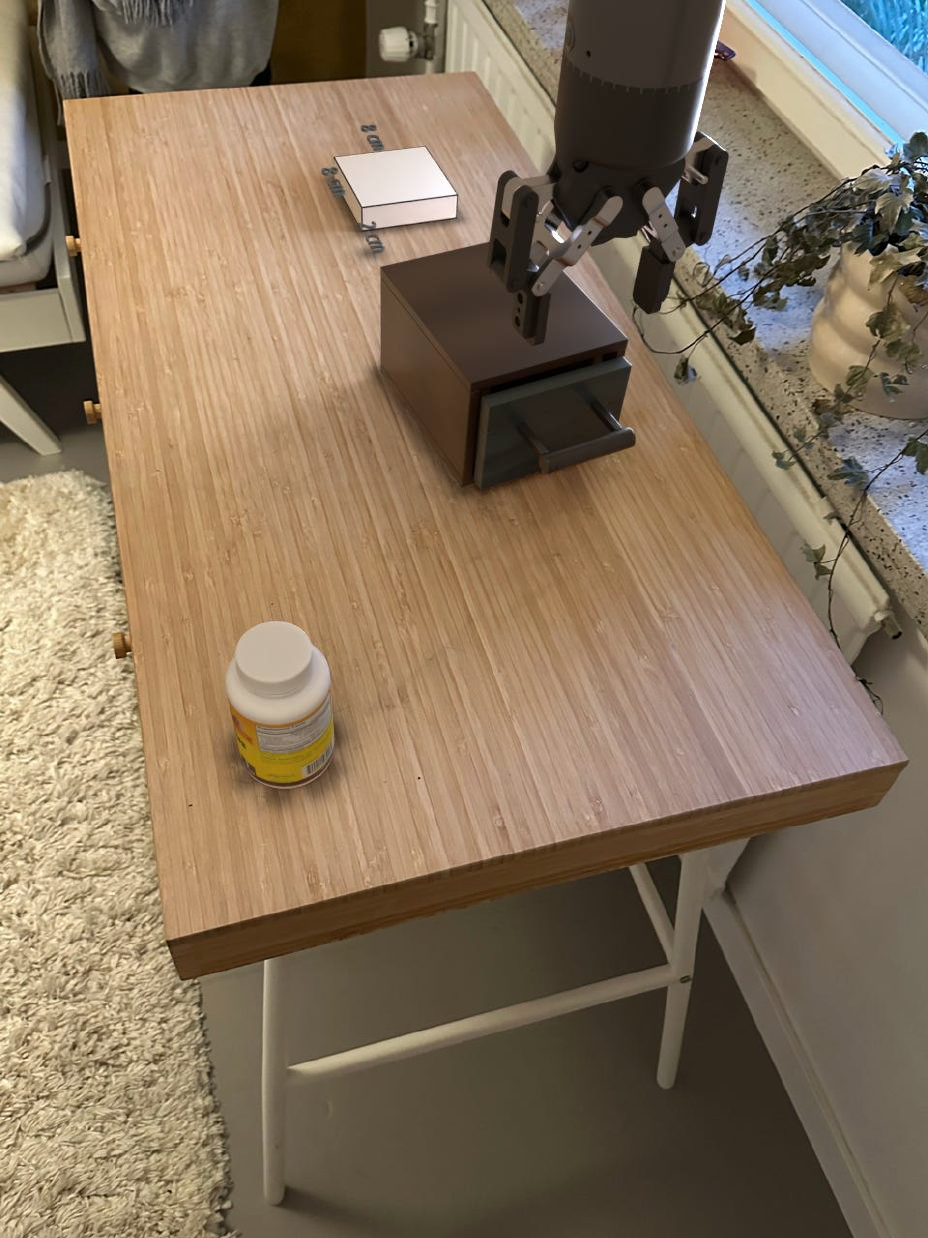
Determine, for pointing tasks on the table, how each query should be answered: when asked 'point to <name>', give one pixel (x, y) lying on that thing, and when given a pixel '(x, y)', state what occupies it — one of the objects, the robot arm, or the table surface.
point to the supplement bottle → (281, 705)
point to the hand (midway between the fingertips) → (589, 321)
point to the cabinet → (473, 342)
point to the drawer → (551, 421)
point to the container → (392, 187)
